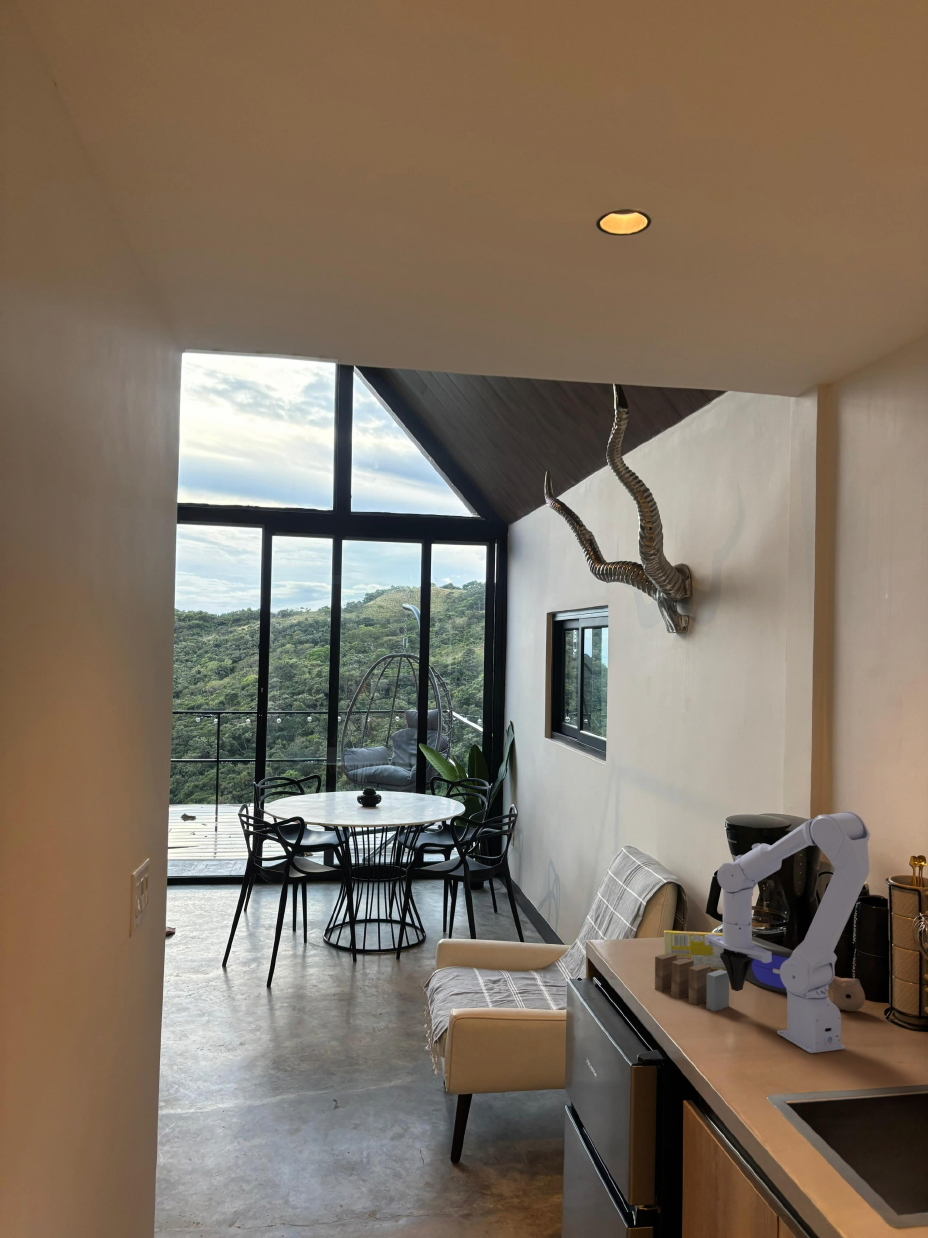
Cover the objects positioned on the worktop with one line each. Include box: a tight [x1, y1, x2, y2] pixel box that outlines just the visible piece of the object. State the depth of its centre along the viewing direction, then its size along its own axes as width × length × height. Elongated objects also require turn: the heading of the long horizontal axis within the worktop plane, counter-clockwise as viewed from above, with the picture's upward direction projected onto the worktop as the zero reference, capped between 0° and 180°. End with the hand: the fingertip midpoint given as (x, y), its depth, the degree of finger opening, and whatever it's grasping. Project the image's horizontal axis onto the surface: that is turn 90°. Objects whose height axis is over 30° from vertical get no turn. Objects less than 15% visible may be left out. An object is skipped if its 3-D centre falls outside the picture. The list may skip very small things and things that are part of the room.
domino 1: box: [654, 953, 677, 993], centre depth 188 cm, size 2×5×7 cm, turn 128°
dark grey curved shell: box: [745, 935, 794, 995], centre depth 191 cm, size 16×5×9 cm, turn 27°
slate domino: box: [706, 969, 730, 1012], centre depth 177 cm, size 2×5×7 cm, turn 129°
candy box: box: [663, 930, 727, 971], centre depth 202 cm, size 16×2×8 cm, turn 84°
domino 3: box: [688, 964, 712, 1006], centre depth 181 cm, size 2×5×7 cm, turn 128°
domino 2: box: [670, 958, 694, 999], centre depth 184 cm, size 2×5×7 cm, turn 128°
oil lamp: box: [828, 975, 866, 1012], centre depth 177 cm, size 9×4×8 cm, turn 81°
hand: (737, 989), depth 173 cm, fingers closed
